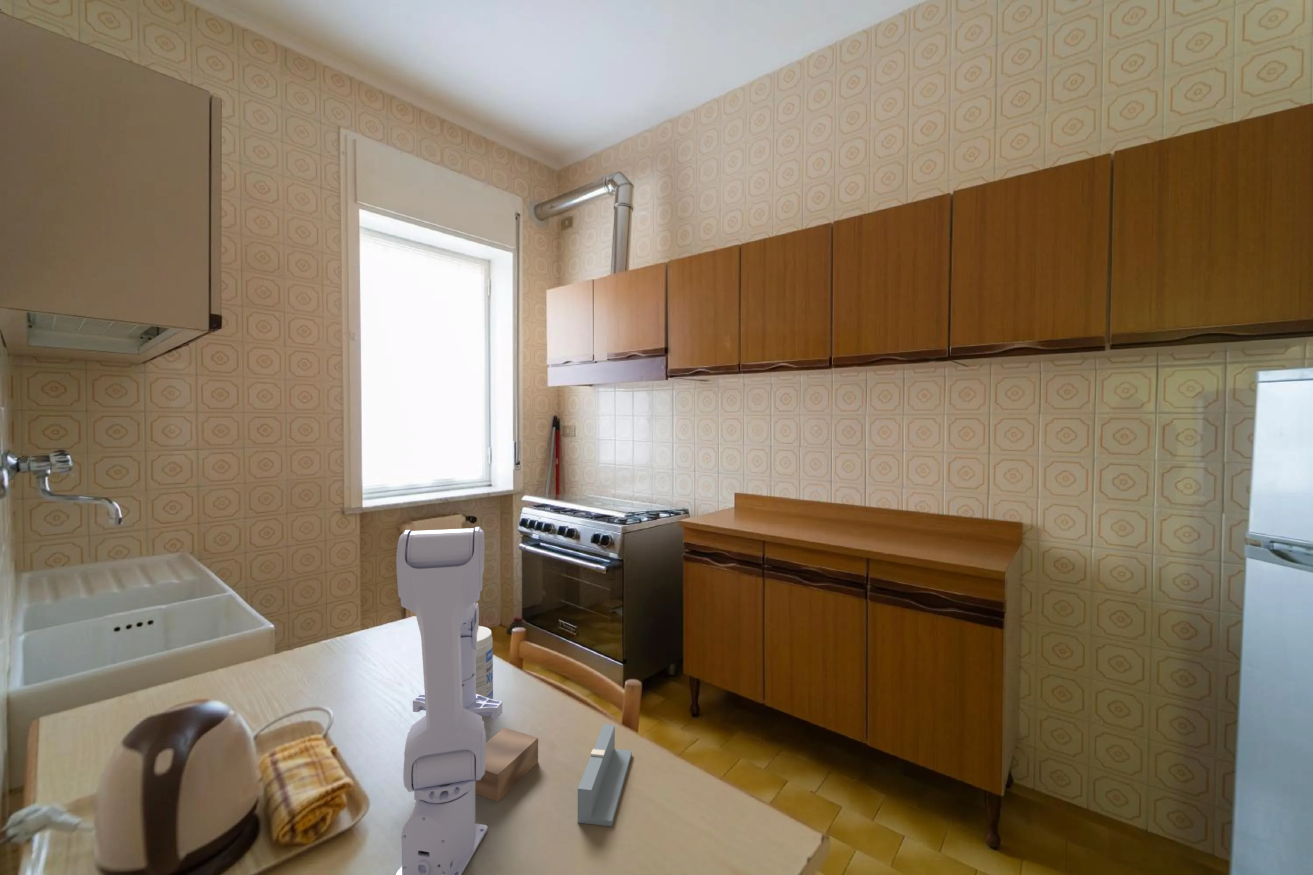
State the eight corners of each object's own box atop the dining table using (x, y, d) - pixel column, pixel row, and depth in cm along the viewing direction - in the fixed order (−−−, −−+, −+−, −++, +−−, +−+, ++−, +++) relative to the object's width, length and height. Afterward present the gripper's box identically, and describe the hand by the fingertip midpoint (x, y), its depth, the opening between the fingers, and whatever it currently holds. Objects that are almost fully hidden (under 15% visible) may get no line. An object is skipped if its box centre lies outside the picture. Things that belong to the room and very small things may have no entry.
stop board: (611, 826, 75) (611, 789, 75) (577, 822, 76) (577, 786, 75) (631, 754, 91) (632, 724, 90) (603, 752, 91) (603, 722, 91)
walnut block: (497, 803, 79) (497, 774, 79) (462, 789, 82) (461, 761, 82) (538, 763, 89) (538, 737, 88) (504, 752, 91) (504, 727, 91)
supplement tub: (499, 711, 104) (499, 637, 103) (448, 726, 99) (448, 648, 98) (485, 689, 112) (485, 621, 111) (437, 702, 107) (437, 630, 106)
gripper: (509, 665, 89) (509, 744, 89) (429, 659, 91) (429, 736, 91) (491, 687, 82) (491, 772, 82) (404, 680, 84) (405, 763, 84)
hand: (457, 755), depth 86 cm, fingers closed
